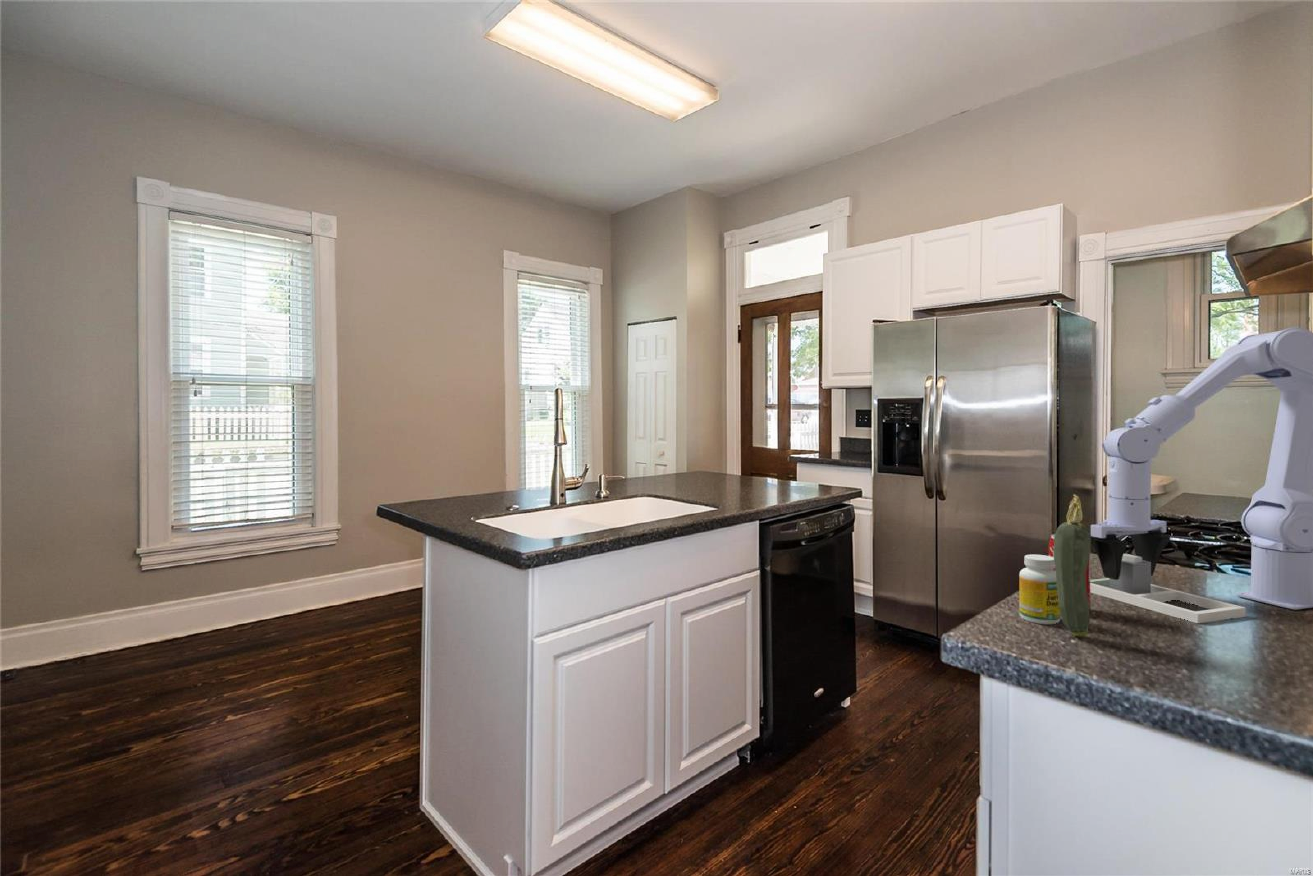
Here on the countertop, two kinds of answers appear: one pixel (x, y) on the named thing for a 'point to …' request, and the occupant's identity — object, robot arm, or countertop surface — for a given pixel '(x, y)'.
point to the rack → (1166, 594)
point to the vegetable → (1072, 569)
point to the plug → (1133, 576)
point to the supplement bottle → (1038, 590)
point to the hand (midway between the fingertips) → (1128, 576)
